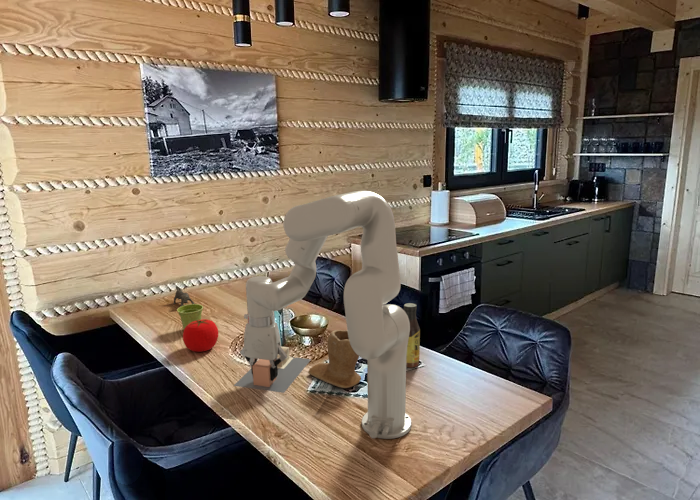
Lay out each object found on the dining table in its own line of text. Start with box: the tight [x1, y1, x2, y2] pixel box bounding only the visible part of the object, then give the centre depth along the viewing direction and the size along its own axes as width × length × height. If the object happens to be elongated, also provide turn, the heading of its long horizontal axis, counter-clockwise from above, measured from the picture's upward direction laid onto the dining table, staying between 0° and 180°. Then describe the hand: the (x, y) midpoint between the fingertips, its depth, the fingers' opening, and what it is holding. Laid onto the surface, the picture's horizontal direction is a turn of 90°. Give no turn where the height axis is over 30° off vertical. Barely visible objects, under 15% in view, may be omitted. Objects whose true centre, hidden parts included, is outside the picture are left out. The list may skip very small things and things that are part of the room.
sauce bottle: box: [403, 302, 421, 369], centre depth 156 cm, size 7×6×20 cm
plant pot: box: [176, 303, 204, 330], centre depth 189 cm, size 9×9×9 cm
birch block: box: [277, 346, 291, 367], centre depth 159 cm, size 6×6×4 cm
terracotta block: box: [252, 359, 276, 387], centre depth 146 cm, size 5×5×6 cm
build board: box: [233, 356, 312, 394], centre depth 153 cm, size 22×16×1 cm
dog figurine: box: [172, 286, 195, 307], centre depth 217 cm, size 12×6×7 cm, turn 42°
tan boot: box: [307, 329, 362, 389], centre depth 148 cm, size 15×12×15 cm
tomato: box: [182, 318, 219, 353], centre depth 172 cm, size 12×12×10 cm
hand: (264, 376), depth 146 cm, fingers closed on terracotta block, 4 cm apart
